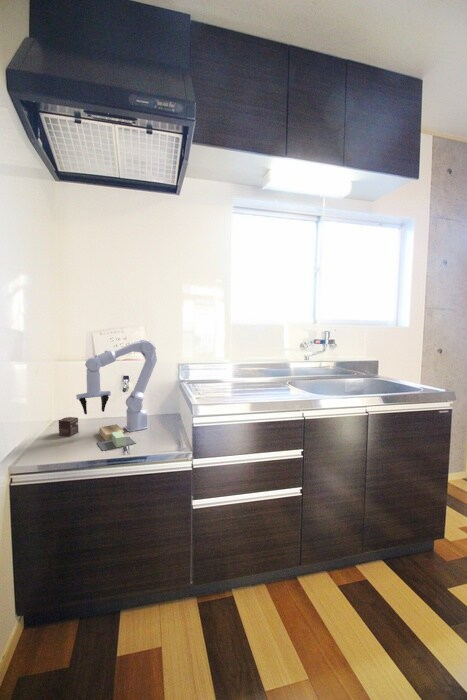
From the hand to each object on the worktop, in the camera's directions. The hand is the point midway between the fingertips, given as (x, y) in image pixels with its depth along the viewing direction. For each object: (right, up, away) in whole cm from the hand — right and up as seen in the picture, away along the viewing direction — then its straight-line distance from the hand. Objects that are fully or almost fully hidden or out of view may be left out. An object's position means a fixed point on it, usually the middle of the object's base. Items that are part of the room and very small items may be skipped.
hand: (94, 412), depth 155 cm
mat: (+14, -12, -10) cm, 21 cm away
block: (+13, -9, -8) cm, 17 cm away
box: (-12, -11, +1) cm, 16 cm away
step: (+8, -11, 0) cm, 13 cm away
